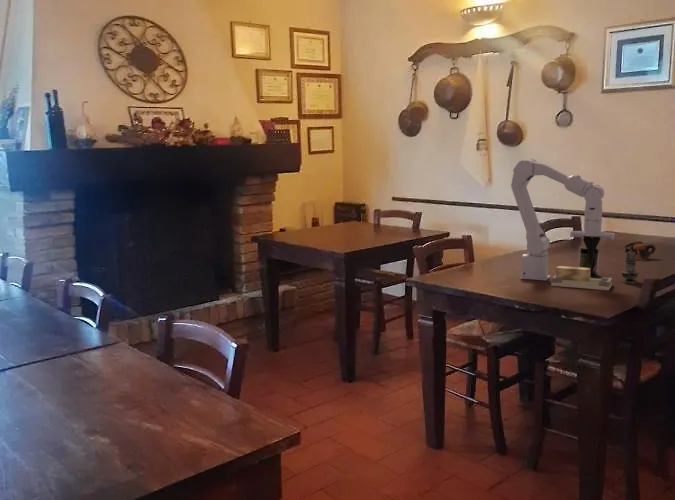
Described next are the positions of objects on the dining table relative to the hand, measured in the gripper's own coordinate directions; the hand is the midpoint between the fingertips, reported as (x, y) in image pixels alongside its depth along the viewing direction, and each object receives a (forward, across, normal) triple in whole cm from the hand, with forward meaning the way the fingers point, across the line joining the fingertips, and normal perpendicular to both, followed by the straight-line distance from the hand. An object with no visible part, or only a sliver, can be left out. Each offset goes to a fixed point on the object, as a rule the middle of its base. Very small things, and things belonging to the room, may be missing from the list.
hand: (591, 257), depth 239 cm
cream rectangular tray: (+9, +2, +5) cm, 11 cm away
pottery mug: (+9, -11, -56) cm, 58 cm away
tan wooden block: (+8, +5, +5) cm, 11 cm away
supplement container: (+9, +3, -14) cm, 17 cm away
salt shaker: (+9, -12, -7) cm, 17 cm away
